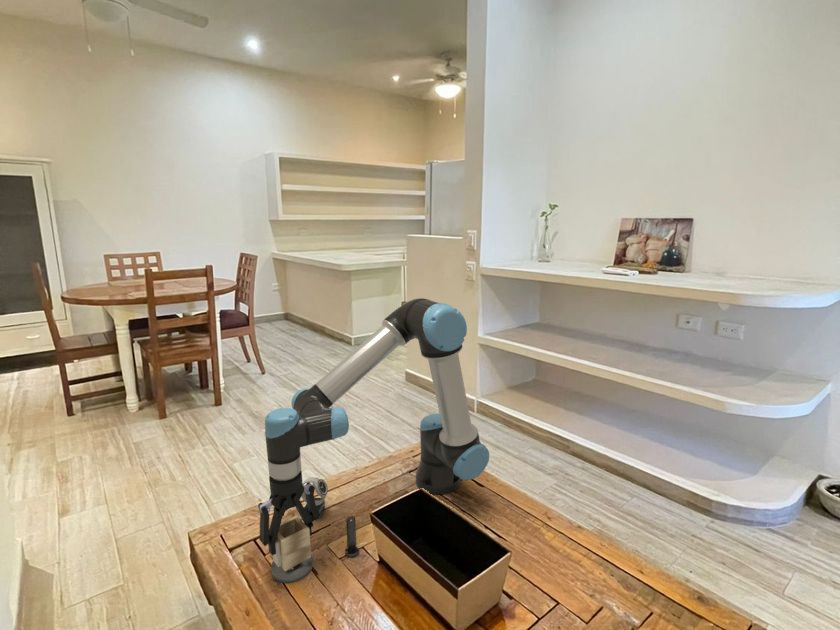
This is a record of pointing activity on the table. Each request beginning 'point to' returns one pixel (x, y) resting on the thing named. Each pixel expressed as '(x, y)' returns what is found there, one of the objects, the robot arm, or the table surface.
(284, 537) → the wooden square sleeve
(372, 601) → the table surface
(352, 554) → the stand
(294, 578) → the stand
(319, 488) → the watch
